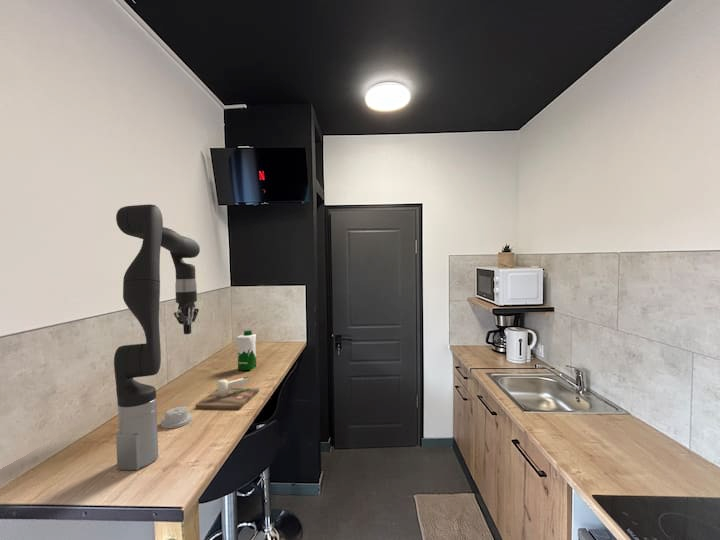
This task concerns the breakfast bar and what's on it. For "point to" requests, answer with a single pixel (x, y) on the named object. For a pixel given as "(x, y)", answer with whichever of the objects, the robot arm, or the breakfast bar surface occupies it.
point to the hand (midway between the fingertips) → (187, 333)
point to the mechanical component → (176, 417)
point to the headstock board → (228, 399)
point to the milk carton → (246, 350)
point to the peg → (229, 385)
